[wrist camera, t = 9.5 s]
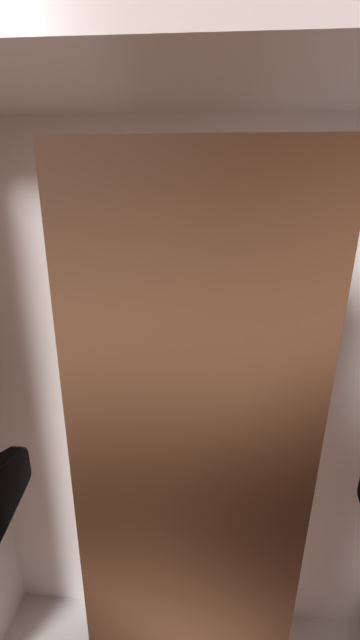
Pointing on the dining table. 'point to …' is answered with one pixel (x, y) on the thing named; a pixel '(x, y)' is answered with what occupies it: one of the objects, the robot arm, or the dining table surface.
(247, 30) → the bin
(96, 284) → the strut
